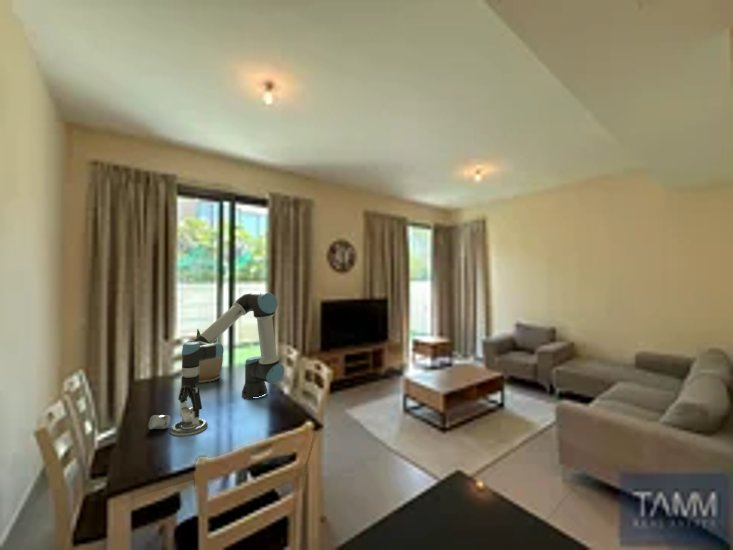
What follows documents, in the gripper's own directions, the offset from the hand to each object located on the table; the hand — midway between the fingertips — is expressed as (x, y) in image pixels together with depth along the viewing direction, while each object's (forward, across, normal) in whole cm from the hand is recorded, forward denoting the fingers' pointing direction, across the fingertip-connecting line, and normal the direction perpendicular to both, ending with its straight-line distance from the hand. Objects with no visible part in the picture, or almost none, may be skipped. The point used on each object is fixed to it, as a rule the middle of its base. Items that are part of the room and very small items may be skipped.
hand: (189, 419), depth 166 cm
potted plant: (+4, -68, +40) cm, 79 cm away
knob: (+3, 0, 0) cm, 3 cm away
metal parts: (+4, -3, -3) cm, 6 cm away
